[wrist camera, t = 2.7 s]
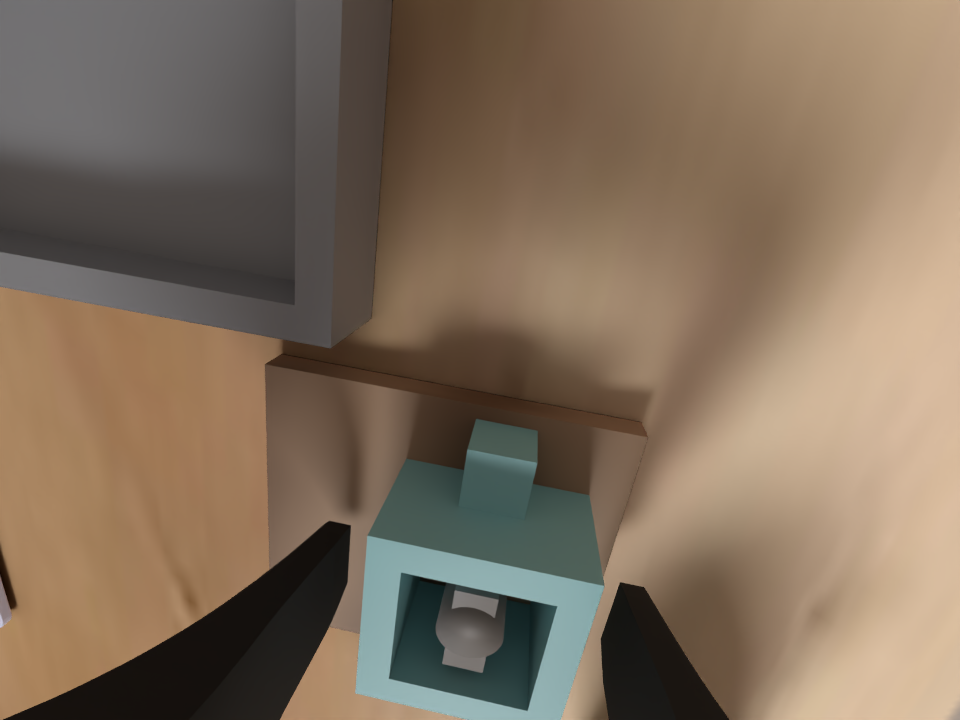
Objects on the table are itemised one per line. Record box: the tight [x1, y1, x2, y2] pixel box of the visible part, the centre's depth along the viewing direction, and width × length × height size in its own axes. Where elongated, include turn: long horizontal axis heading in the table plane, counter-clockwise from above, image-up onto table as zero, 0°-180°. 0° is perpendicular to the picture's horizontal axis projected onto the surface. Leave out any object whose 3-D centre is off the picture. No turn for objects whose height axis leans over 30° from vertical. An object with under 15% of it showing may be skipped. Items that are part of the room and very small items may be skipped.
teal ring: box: [355, 419, 604, 720], centre depth 11 cm, size 5×7×3 cm
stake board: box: [265, 354, 648, 673], centre depth 12 cm, size 10×9×4 cm
